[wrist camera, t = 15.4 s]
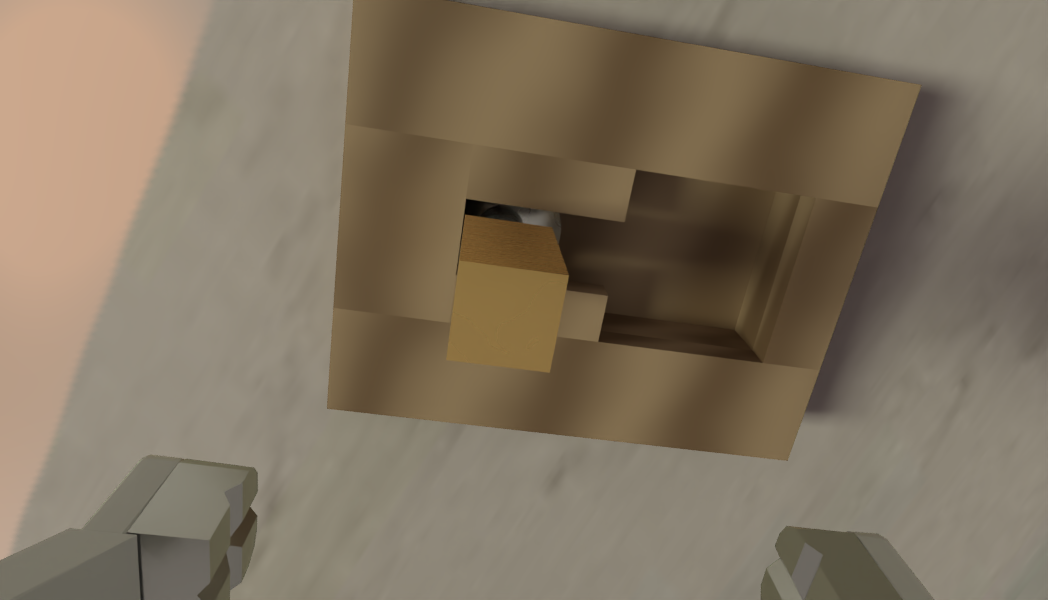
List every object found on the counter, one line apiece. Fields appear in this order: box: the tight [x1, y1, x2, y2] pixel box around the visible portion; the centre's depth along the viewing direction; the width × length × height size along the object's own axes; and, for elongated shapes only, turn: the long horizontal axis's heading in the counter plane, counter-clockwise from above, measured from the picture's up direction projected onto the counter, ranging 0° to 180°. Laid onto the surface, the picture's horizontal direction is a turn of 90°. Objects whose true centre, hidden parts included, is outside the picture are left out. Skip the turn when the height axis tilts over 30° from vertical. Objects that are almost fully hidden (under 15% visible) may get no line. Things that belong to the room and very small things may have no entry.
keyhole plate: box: [327, 0, 921, 461], centre depth 28 cm, size 20×16×4 cm
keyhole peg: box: [446, 199, 569, 373], centre depth 23 cm, size 5×5×10 cm
